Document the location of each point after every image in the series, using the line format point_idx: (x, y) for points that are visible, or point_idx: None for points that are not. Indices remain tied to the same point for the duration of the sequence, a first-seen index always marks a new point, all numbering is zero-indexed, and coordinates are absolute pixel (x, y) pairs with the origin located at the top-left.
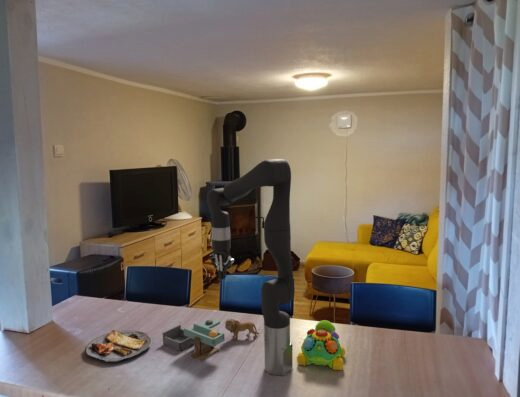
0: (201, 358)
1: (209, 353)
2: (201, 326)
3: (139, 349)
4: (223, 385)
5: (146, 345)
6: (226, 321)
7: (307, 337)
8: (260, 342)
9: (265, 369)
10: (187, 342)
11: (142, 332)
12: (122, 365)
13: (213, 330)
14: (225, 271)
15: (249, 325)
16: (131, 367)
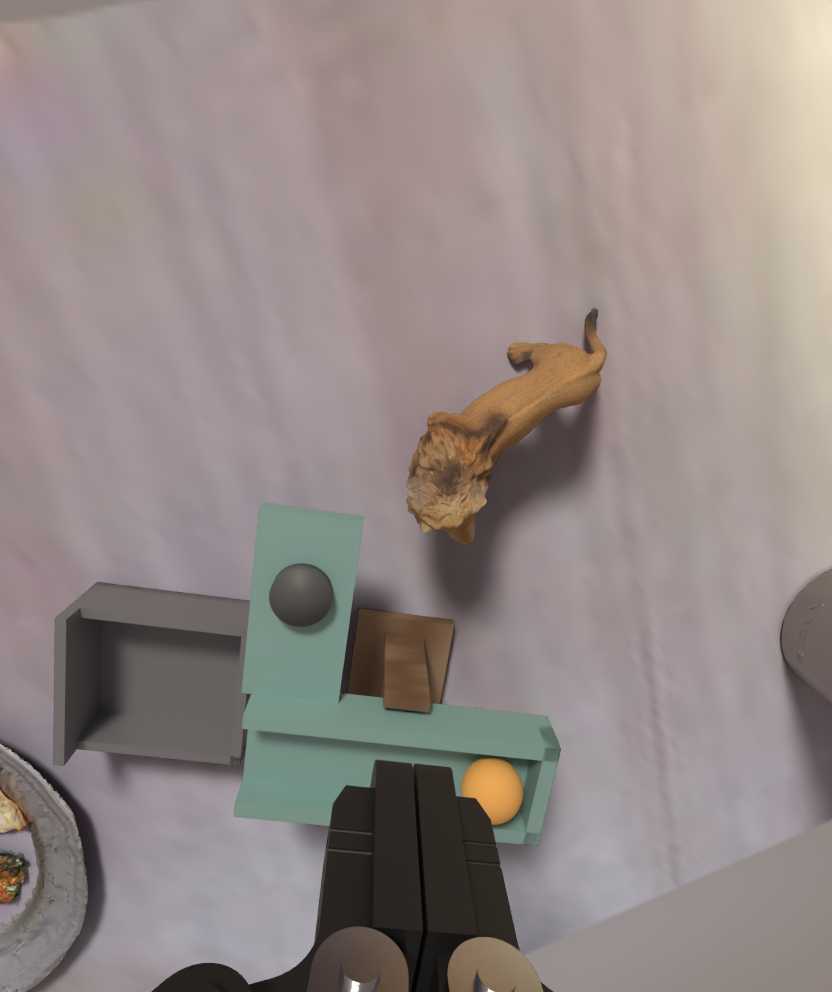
0: None
1: (435, 693)
2: (331, 736)
3: (29, 822)
4: (650, 852)
5: (37, 800)
6: (430, 528)
7: None
8: (645, 407)
9: (799, 677)
10: (249, 695)
11: None
12: (93, 947)
13: (458, 746)
14: (515, 943)
15: (581, 402)
16: (149, 939)
